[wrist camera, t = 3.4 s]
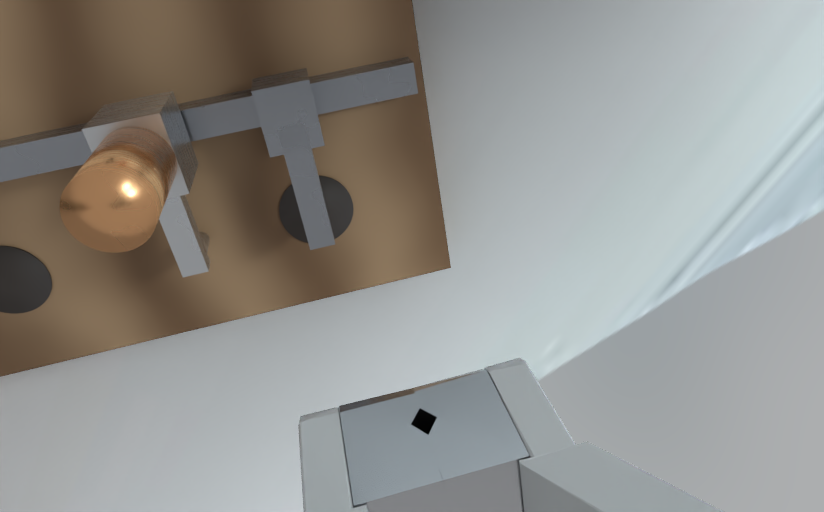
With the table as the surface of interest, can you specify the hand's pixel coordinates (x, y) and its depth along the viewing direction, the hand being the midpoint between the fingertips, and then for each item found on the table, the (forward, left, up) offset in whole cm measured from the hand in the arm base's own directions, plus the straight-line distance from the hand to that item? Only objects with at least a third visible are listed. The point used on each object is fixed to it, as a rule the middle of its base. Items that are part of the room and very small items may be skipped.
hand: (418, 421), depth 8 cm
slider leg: (+6, +2, -18) cm, 20 cm away
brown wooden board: (+8, +1, -21) cm, 22 cm away
